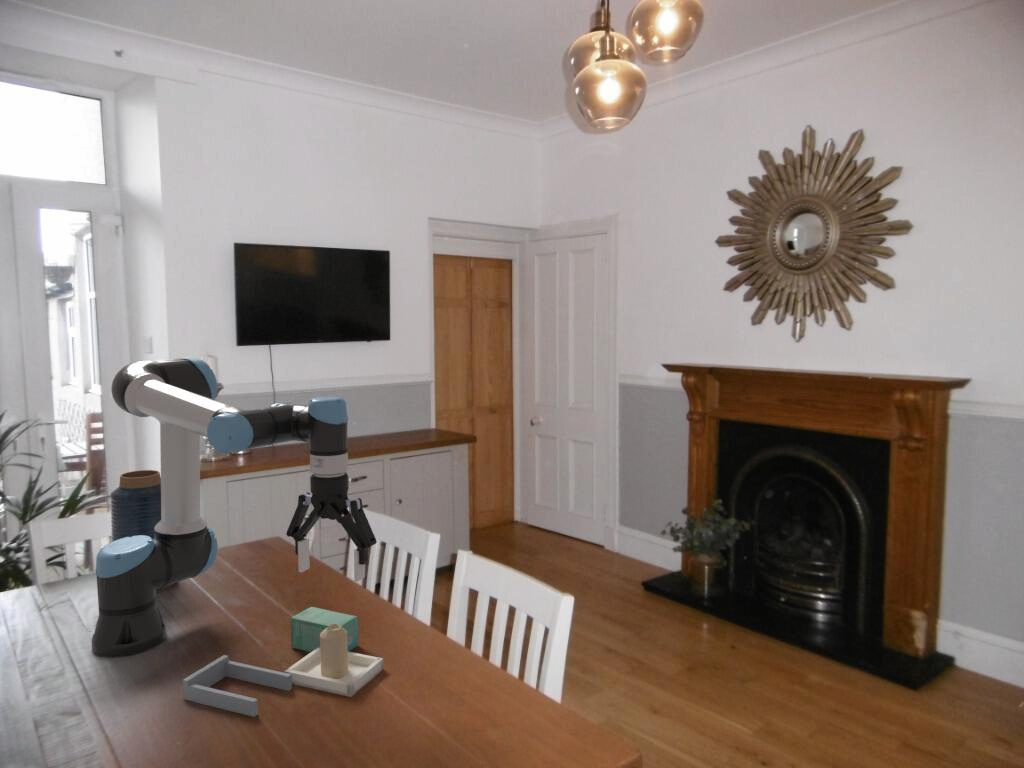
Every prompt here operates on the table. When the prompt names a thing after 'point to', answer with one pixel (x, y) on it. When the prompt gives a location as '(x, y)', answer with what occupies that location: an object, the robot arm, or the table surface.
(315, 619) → the box
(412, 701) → the table surface
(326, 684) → the tray
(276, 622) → the table surface
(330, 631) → the candle
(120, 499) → the vase
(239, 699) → the bracket
